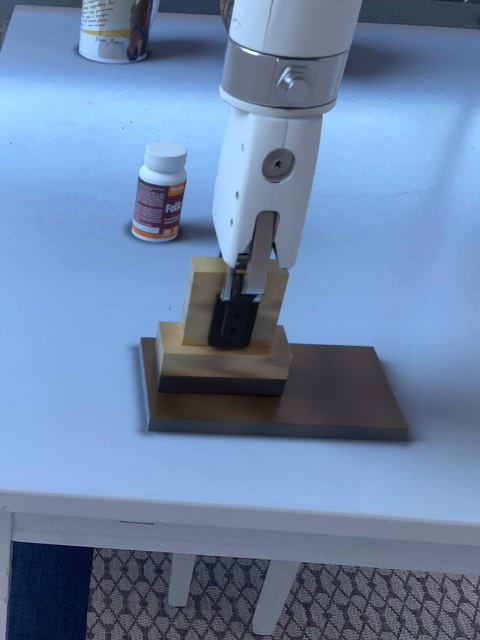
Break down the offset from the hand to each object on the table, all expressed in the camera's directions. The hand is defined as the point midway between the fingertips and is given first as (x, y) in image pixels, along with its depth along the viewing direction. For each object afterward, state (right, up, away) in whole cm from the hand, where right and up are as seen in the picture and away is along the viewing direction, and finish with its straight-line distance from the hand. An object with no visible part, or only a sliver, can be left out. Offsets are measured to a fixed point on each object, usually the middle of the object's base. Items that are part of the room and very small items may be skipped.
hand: (225, 332), depth 74 cm
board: (+4, -4, +4) cm, 7 cm away
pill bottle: (-2, +18, +24) cm, 30 cm away
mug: (0, +61, +63) cm, 87 cm away
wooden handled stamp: (0, -3, +3) cm, 4 cm away
